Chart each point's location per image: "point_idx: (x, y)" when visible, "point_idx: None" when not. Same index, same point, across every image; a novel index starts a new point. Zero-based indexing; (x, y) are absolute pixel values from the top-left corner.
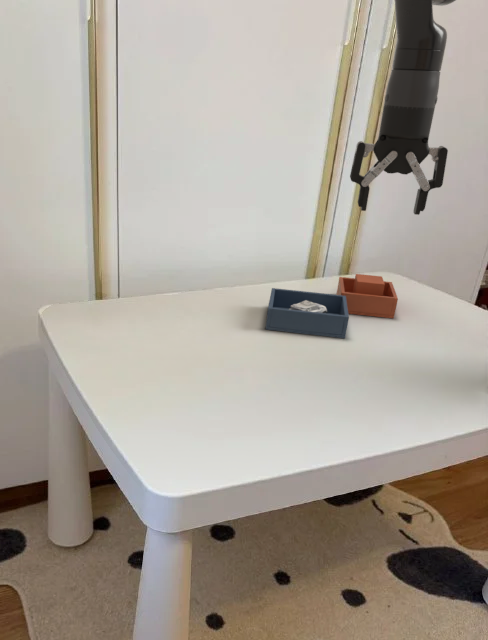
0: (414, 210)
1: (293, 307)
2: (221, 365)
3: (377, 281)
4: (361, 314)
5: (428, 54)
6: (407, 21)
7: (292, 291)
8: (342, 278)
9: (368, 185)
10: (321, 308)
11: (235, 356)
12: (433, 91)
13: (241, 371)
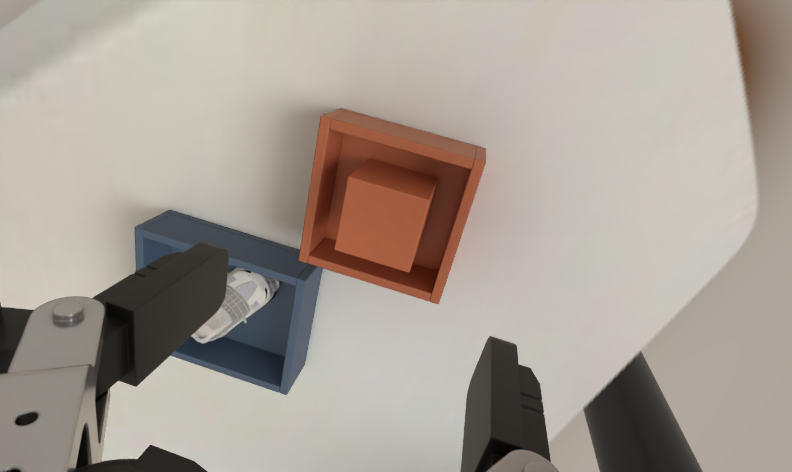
0: (481, 363)
1: None
2: (122, 422)
3: (395, 250)
4: None
5: None
6: None
7: (182, 248)
8: (326, 134)
9: (116, 381)
10: (252, 310)
11: (135, 402)
12: None
13: (149, 439)
